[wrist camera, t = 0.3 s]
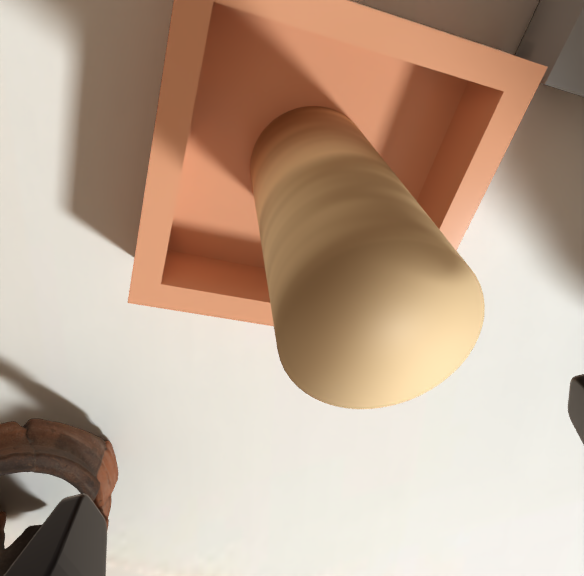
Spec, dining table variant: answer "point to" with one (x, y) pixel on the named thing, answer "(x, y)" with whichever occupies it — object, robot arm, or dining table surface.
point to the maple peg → (356, 267)
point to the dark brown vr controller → (55, 467)
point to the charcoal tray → (557, 43)
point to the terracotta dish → (299, 93)
